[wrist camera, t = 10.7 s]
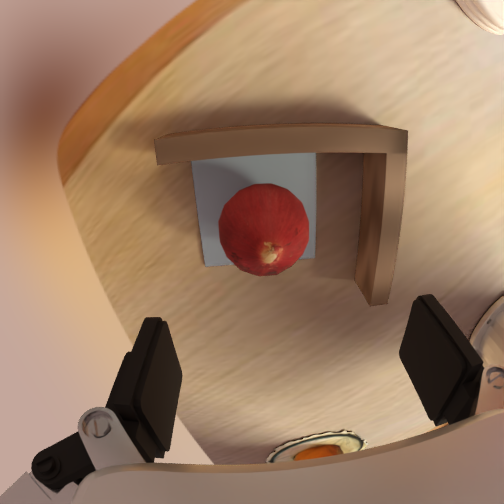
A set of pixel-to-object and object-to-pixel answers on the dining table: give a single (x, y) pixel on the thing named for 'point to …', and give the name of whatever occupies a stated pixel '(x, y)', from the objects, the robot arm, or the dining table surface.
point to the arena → (323, 141)
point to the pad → (241, 176)
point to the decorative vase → (318, 447)
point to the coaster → (485, 14)
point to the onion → (263, 229)
